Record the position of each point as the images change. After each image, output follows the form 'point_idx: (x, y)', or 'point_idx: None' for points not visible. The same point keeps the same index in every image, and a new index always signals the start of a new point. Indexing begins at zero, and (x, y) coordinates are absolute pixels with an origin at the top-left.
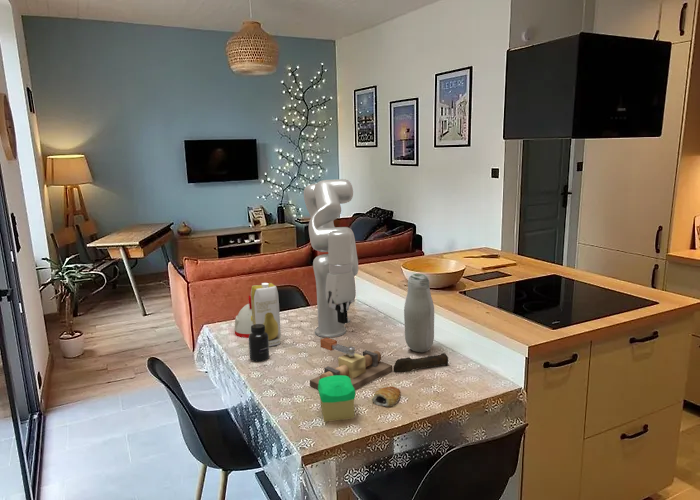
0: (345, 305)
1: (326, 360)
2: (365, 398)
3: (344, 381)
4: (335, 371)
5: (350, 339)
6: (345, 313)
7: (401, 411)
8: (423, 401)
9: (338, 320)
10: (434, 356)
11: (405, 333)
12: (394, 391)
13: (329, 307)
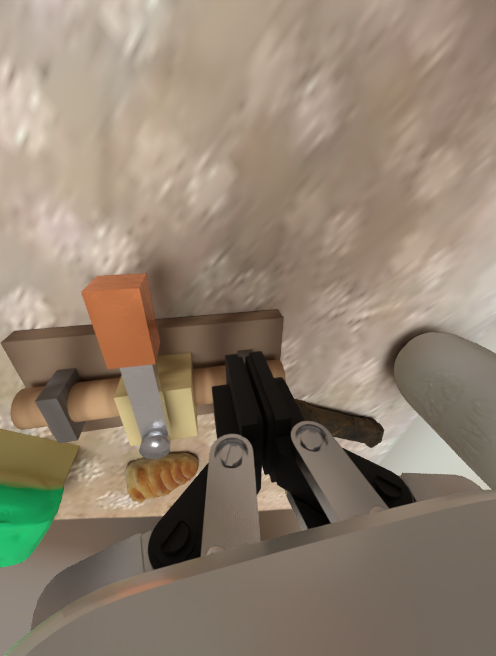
0: (306, 526)
1: (188, 197)
2: (127, 446)
3: (5, 556)
4: (61, 436)
5: (428, 87)
6: (262, 462)
7: None
8: None
9: (212, 389)
10: (357, 439)
11: (434, 371)
12: (171, 490)
13: (49, 591)
